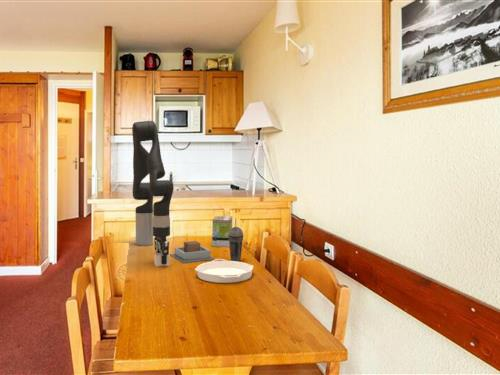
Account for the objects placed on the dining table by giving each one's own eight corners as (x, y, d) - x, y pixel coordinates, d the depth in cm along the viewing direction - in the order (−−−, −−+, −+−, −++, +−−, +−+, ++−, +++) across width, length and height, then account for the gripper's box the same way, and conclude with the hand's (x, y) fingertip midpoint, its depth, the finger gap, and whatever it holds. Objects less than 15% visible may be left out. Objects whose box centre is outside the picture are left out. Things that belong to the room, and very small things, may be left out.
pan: (199, 287, 164) (199, 277, 164) (190, 269, 190) (190, 260, 190) (262, 283, 171) (263, 273, 170) (244, 266, 197) (245, 257, 196)
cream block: (154, 263, 199) (154, 253, 198) (167, 262, 201) (167, 252, 200) (155, 266, 193) (155, 256, 193) (169, 265, 195) (169, 255, 195)
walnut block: (183, 254, 211) (183, 241, 211) (195, 252, 214) (195, 240, 214) (188, 256, 206) (188, 244, 206) (200, 255, 209) (200, 243, 209)
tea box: (230, 247, 234) (230, 219, 233) (211, 246, 235) (211, 219, 233) (232, 241, 249) (232, 215, 248) (214, 241, 250) (214, 215, 248)
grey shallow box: (170, 255, 214) (170, 247, 214) (200, 251, 222) (200, 244, 222) (182, 263, 199) (182, 254, 198) (215, 259, 206) (215, 251, 206)
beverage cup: (244, 258, 209) (244, 216, 207) (242, 262, 202) (243, 219, 200) (229, 258, 210) (229, 216, 208) (226, 261, 202) (227, 218, 201)
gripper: (148, 223, 200) (148, 259, 201) (158, 228, 187) (158, 267, 189) (164, 222, 204) (164, 258, 205) (174, 227, 191) (174, 265, 192)
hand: (161, 262), depth 197 cm, fingers closed on cream block, 6 cm apart
